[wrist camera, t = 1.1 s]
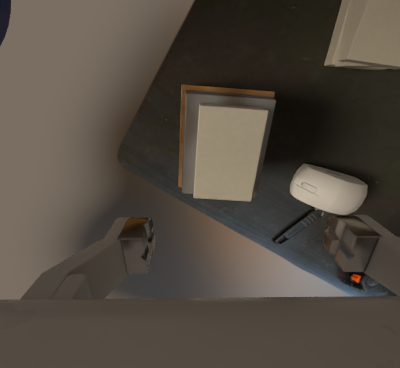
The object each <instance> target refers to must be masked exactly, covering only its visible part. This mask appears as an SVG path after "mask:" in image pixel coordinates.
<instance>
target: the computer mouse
mask: <svg viewBox="0 0 400 368" xmlns="http://www.w3.org/2000/svg"><path fill="white" fill-rule="evenodd" d="M367 187H368V185H367V184H365V183H364V182H363V181H361V180H359V179H358V178H356V177H353V176H349V175H346V174H343V173H339V172H336V171H332V170H329V169H326V168H322V167H318V166H314V165H310V164H305V163H304V164H303V165H302V166H301V167H300V168H299V169H298V170H297V171H296V173H295V175H294V176H293V179H292V181H291V184H290V193H291V194H292V196H294V197H295V198H297V199H298V200H300V201H302V202H304V203H307V204H309V205H311V206H313V207H316V208H318V209H321V210H324V211H327V212H331V213H335V214H340V215H348V214H350V213H352V212H354V211H356V210H357V209H358V208H359V207H360V206H361V205H362V203H363V201H364V199H365V198H366V196H367Z"/></svg>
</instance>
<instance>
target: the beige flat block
mask: <svg viewBox="0 0 400 368" xmlns="http://www.w3.org/2000/svg"><path fill="white" fill-rule="evenodd" d="M268 112H269V111H268V110H266V109H263V108H257V107H244V106H231V105H217V104H204V103H200V104H199V117H198V132H197V148H196V163H195V178H194V195H193V197H194V198H203V199H219V200H236V201H251V199H252V193H253V188H254V183H255V178H256V173H257V168H258V163H259V158H260V153H261V148H262V143H263V138H264V132H265V127H266V122H267V117H268Z"/></svg>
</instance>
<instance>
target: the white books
mask: <svg viewBox="0 0 400 368" xmlns="http://www.w3.org/2000/svg"><path fill="white" fill-rule="evenodd" d="M324 66H332V67H344V68H356V69H368V70H383V69H387V68H389V69H400V0H342V2H341V6H340V10H339V13H338V17H337V21H336V24H335V28H334V31H333V35H332V39H331V42H330V46H329V49H328V53H327V57H326V60H325V64H324Z"/></svg>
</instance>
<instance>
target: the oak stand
mask: <svg viewBox="0 0 400 368" xmlns="http://www.w3.org/2000/svg"><path fill="white" fill-rule="evenodd" d="M274 94H275V92H272V91H259V90H246V89H233V88H220V87H208V86H195V85H181V117H180V150H179V182H178V187H182V193H191V194H194V178H195V163H196V148H197V132H198V117H199V104H200V103H204V104H217V105H231V106H244V107H257V108H263V109H266V110H268V111H269V112H268V117H267V122H266V127H265V132H264V138H263V143H262V148H261V153H260V158H259V163H258V168H257V173H256V178H255V183H254V188H253V193H252V197H255V198H256V196H257V191H258V186H259V181H260V176H261V171H262V167H263V162H264V157H265V152H266V147H267V142H268V138H269V133H270V128H271V123H272V118H273V113H274V109H275V104H276V100H274Z"/></svg>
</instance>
